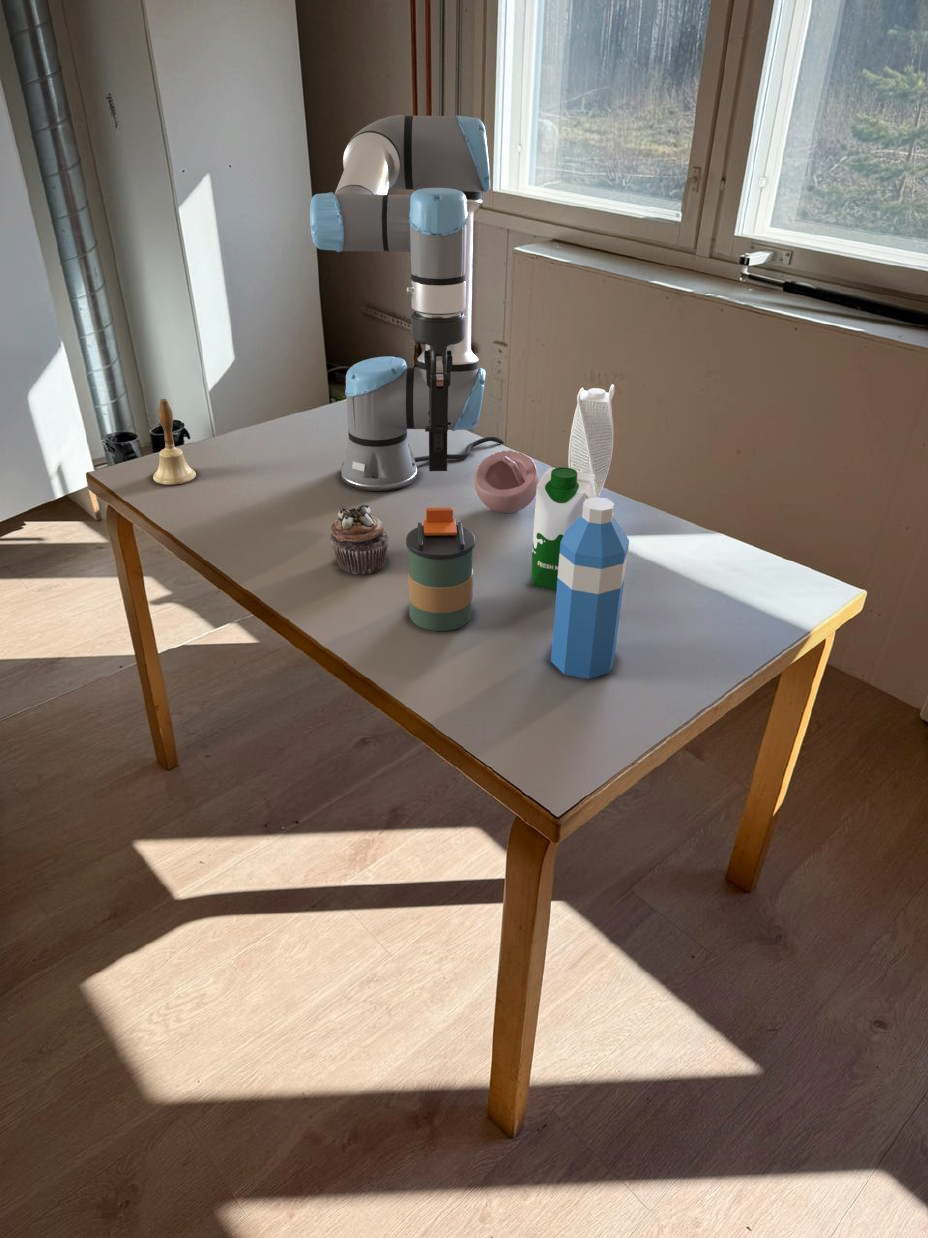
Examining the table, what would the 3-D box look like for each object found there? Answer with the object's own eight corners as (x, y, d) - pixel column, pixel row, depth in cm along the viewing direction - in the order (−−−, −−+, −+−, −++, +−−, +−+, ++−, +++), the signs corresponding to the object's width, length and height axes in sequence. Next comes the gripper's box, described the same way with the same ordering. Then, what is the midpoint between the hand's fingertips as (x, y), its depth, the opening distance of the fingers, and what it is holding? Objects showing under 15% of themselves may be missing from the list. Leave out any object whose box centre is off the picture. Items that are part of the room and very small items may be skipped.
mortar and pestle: (464, 517, 172) (465, 459, 166) (487, 492, 181) (488, 437, 175) (525, 529, 168) (528, 470, 162) (545, 503, 178) (549, 447, 171)
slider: (423, 522, 140) (423, 507, 138) (455, 521, 140) (455, 506, 139) (424, 535, 136) (424, 520, 135) (456, 535, 136) (456, 520, 135)
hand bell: (181, 465, 190) (169, 389, 181) (204, 476, 185) (192, 400, 177) (145, 476, 185) (131, 399, 176) (167, 489, 180) (153, 410, 172)
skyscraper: (613, 536, 166) (631, 385, 151) (580, 546, 163) (594, 392, 148) (586, 519, 172) (601, 371, 157) (554, 528, 169) (565, 378, 154)
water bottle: (545, 643, 137) (557, 489, 124) (607, 640, 138) (625, 487, 124) (556, 680, 129) (570, 520, 116) (621, 677, 130) (642, 518, 117)
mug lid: (405, 528, 141) (405, 518, 140) (472, 527, 141) (472, 517, 140) (406, 560, 132) (406, 550, 131) (477, 559, 133) (477, 549, 132)
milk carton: (525, 586, 151) (532, 474, 140) (539, 561, 158) (547, 452, 147) (577, 596, 149) (589, 482, 138) (589, 570, 156) (601, 460, 145)
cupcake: (345, 582, 151) (342, 527, 146) (325, 556, 158) (321, 503, 153) (399, 569, 155) (397, 515, 150) (376, 545, 162) (374, 493, 157)
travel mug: (408, 598, 147) (406, 528, 141) (469, 597, 148) (471, 527, 141) (408, 632, 139) (407, 560, 132) (474, 631, 140) (476, 558, 133)
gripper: (410, 299, 133) (412, 453, 146) (411, 323, 122) (414, 487, 135) (462, 299, 134) (460, 452, 147) (468, 323, 123) (465, 486, 136)
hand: (438, 468), depth 141 cm, fingers closed
